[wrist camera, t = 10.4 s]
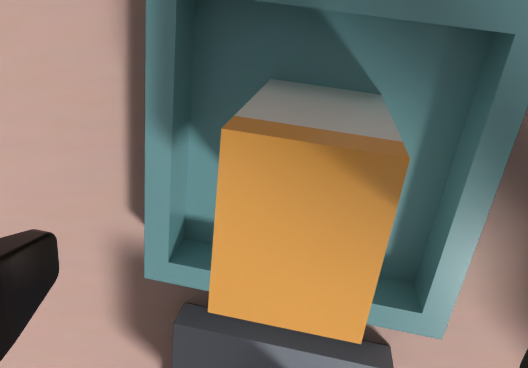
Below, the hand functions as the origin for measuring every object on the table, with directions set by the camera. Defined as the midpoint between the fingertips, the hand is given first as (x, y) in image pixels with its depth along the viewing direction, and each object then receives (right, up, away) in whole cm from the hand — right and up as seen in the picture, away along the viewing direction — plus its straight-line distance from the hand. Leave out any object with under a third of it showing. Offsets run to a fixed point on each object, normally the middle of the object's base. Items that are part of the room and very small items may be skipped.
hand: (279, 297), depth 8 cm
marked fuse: (+2, +3, +8) cm, 9 cm away
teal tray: (+2, +4, +9) cm, 10 cm away
